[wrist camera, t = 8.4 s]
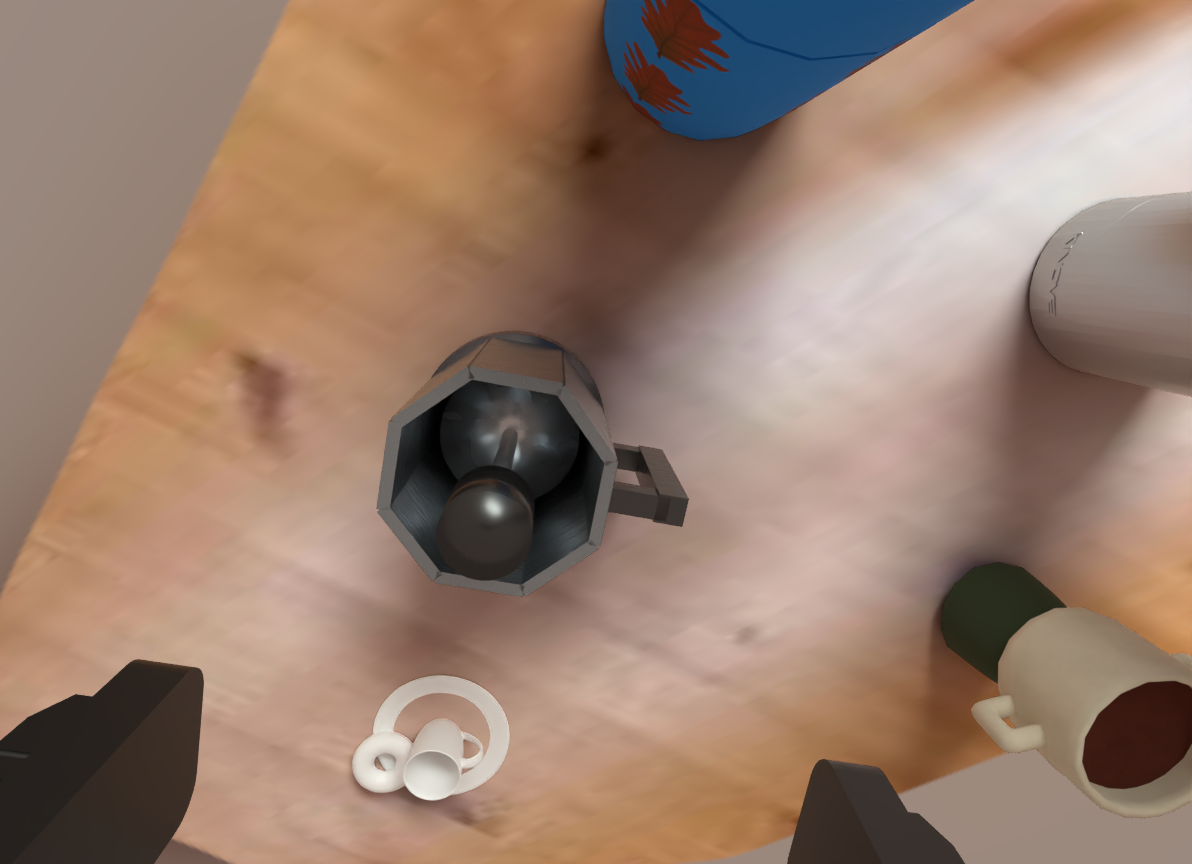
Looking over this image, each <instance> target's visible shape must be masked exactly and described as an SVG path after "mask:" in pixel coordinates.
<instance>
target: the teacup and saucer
mask: <svg viewBox="0 0 1192 864" xmlns="http://www.w3.org/2000/svg"><path fill="white" fill-rule="evenodd" d="M432 693H450V694H454V695H458V696H461V697H463V698H465V699H467V700H469V701H470V702H472V703H473V704H474V705H476V706H477V707H478V708H479V709H480V710H481V712H482V713H483V714H484V716H485V718H486V720H487V722H488V725H489V729H490V743H489V747H488V750H487V752H486V754H485V756H484V750H483V747H482V744H481V742H480V741H479V740H478V739H477V738H476V737H474V736H473V735H471V734H469V733H466V732H463V731H461V730H460V729H459V727H458V726H457V725H456V724H455V723H454V722H453V721H451V720H449V719H445V718H438V719H434V720H432V721H430V722H428V723H427V724H426V725H425V726H424V727H423V728H422V729H421V730H420V732H419V733H418V735H417V737H416V739H415V741H414V743H412V742H411V741H410V740H409V739H408V738H407V737H406V736H404V735H402V734H400V733H397V732H393V727H394V724H395V721H396V719H397V717H398V715H399V713H400V712H401V711H402V709H403V708H404V707H405V706H406V705H408V704H409V703H410V702H412V701H413V700H415V699H417V698H419V697H421V696H424V695H427V694H432ZM463 740H468V741H470V742H472V743H474V744H475V745H476V746H477V747H478V748H479V750H480V751H479V753H478V754H477V755H475V756H474V757H472V758H469V759H465V758H463ZM509 741H510V731H509V725H508V721H507V718H506V715H505V713H504V711H503V709H502V707H501V706H500V704H499V703H498V702H497V700H496V699H495V698H494V697H493V696H492V695H491V694H490V693H489V692H488V691H486V690H485V689H484V688H482V687H481V686H479V685H477V684H475V683H473V682H471V681H469V680H466V679H463V678H459V677H454V676H447V675H435V676H427V677H422V678H418V679H415V680H413V681H410V682H408V683H406V684H404V685H402V686H401V687H399V688H398V689H396V690H395V691H394V692H393V693H392V694H391V695H389V697H388V698H387V699H386V700H385V701H384V702H383V704H382V705H381V707H380V709H379V711H378V713H377V715H376V718H375V721H374V725H373V735H371V736H369V737H368V738H366V739H365V740H364V741H363V742H362V743H361V744H360V745H359V747H358V748H357V750H356V751H355V753H354V756H353V759H352V770H353V774H354V777H355V779H356V780H357V782H358V783H359V784H360V785H361V786H362V787H364V788H365V789H367V790H369V791H372V792H376V793H387V792H392V791H395V790H398V789H400V788H401V787H403V786H405V787H407V789H408V790H409V791H410V792H411V793H412V794H413V795H415V796H417V797H419V798H421V799H425V800H440V799H443V798H446V797H448V796H449V795H456V794H461V793H464V792H467V791H470V790H472V789H474V788H476V787H478V786H480V785H482V784H483V783H485V782H486V781H487V780H489V779H490V778H491V777H492V776H493V775H494V774H495V773H496V772H497V770H498V769H499V768H500V766H501V765H502V763H503V761H504V759H505V757H506V754H507V751H508V747H509ZM376 757H378V759H379V761H380V763H381V765H382V766H383V768H384V769H385V770H386V771H383V770H380V769H377V767H375V764H374V761H375V758H376ZM472 767H474V768H473V769H471V770H470V771H468V772H466V773H464V774H462V769H463V768H472Z"/></svg>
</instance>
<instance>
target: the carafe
mask: <svg viewBox="0 0 1192 864" xmlns="http://www.w3.org/2000/svg"><path fill="white" fill-rule="evenodd" d="M470 380H477V381H482V382H488V383H493V384H499V385H504V386H509V387H515V388H520V389H525V390H531V391H536V392H542V393H547V394H552V395H557V396H558V397H559V399H560V400H561V402H562V403H563V405H564V406H565V407H566V409H567V410H568V412H569V413H570V415H571V416H572V417H573V419H574V420H575V422H576V423H577V425H578V426H579V446H578V451H577V455H576V458H575V460H574V463H573V465H572V467H571V469H570V470H569V472H568V473H567V475H566V476H565V477H564V479H563V480H562V481H561V482H560V483H559V484H558V485H557V486H555V487H554V488H553V489H552V490H550V491H549V492H547V493H545V494H543V495H542V496H539V497H537V498H534V507H535V508H534V520H533V531H532V542H531V547H530V551H529V553H528V555H527V557H526V559H525V560H524V562H523V563H522V564H521V565H520V566H519V567H518V568H517V569H516V570H515V571H514V572H512V573H511V574H509V575H507V576H505V577H502V578H500V579H496V580H490V581H480V580H474V579H470V578H467V577H464V576H462V575H460V574H459V573H457V572H456V571H454V570H453V569H452V568H451V567H450V566H449V565H448V564H447V563H446V562H445V560H444V559H443V558H442V556H441V554H440V552H439V549H438V545H437V539H436V532H437V526H438V522H439V519H440V517H441V515H442V512H443V510H444V508H445V506H446V503H447V501H448V499H449V497H450V494H451V492H452V490H453V488H454V486H455V484H456V483H457V482H458V479H457V478H456V477H455V475H454V474H453V473H452V471H451V470H450V468H449V467H448V465H447V462H446V460H445V458H444V455H443V452H442V448H441V442H440V427H441V421H442V416H443V413H444V411H445V408H446V406H447V404H448V402H449V400H450V399H451V397H452V396H453V395H454V393H455V392H456V391H457V389H459V388H460V387H462V386H463V385H465V384H466V383H468V382H469V381H470ZM617 468H618V469H624V470H630V471H635V472H636V475H637V478H638V481H639V484H640V486H637V485H632V484H626V483H620V482H614V479H615V474H616V470H617ZM688 500H689V499H688V497H687V495H686V493H685V491H684V489H683V487H682V486H681V484H680V482H679V480H678V478H677V476H676V475H675V473H674V471H673V469H672V467H671V465H670V463H669V462H668V460H667V458H666V456H665V454H664V452H663V451H662V450H661V449H655V448H650V447H644V446H639V447H634V446H628V445H623V444H617V443H612V440H611V436H610V433H609V430H608V426H607V423H606V419H605V416H604V410H603V405H602V401H601V398H600V394H599V391H598V389H597V387H596V384H595V382H594V380H593V378H592V377H591V375H590V373H589V371H588V370H587V369H586V368H585V366H584V365H583V364H582V362H581V361H580V360H579V359H578V358H577V357H576V356H575V355H574V354H572V353H571V352H570V351H568V350H567V349H566V348H564V347H563V346H561V345H560V344H558V343H556V342H554V341H553V340H550V339H548V338H545V337H543V336H540V335H536V334H532V333H526V332H519V331H505V332H498V333H492V334H488V335H485V336H481V337H479V338H477V339H474V340H472V341H470V342H468V343H467V344H465V345H463V346H462V347H460V348H459V349H458V350H456V351H455V352H454V353H453V354H451V355H450V356H449V357H448V358H447V359H446V360H445V361H444V362H443V363H442V364H441V365H440V366H439V368H438V369H437V371H436V372H435V373H434V375H433V376H432V378H431V379H430V380H429V381H428V382H427V383H426V384H425V385H424V386H423V387H422V388H421V389H420V390H419V391H418V392H417V393H416V394H415V395H414V396H413V397H412V398H411V399H410V400H409V401H408V402H407V403H406V404H405V405H404V406H403V407H402V408H401V409H400V410H399V411H398V412H397V413H396V414H395V415H394V416H393V417H392V418H391V420H390V421H389V424H388V431H387V438H386V445H385V452H384V459H383V466H382V473H381V480H380V487H379V494H378V501H377V509H379V511H378V514H379V515H380V516H381V517H382V519H383V520H384V521H385V522H386V524H387V525H388V526H389V527H390V529H391V530H392V531H393V533H394V534H395V535H396V536H397V538H398V539H399V540H400V541H401V543H402V544H403V545H404V546H405V548H406V549H407V550H408V552H409V553H410V554H411V555H412V557H413V558H414V559H415V560H416V562H417V563H418V564H419V565H420V567H421V568H422V569H423V571H424V572H425V573H426V574H427V576H428V577H429V578H430V579H431V581H433V580H435V583H438V584H444V585H451V586H457V587H463V588H469V589H475V590H482V591H488V592H494V593H500V594H507V595H513V596H519V597H523V593H524V595H525V596H527V595H529V594H530V593H532V592H533V591H535V590H536V589H538V588H539V587H541V586H542V585H544V584H545V583H547V582H549V581H550V580H552V579H553V578H555V577H556V576H558V575H559V574H561V573H562V572H564V571H566V570H567V569H569V568H570V567H572V566H573V565H575V564H576V563H578V562H579V561H581V560H582V559H584V558H586V557H587V556H589V555H590V554H592V553H593V552H595V551H596V550H598V546H600V545H601V541H602V536H603V531H604V527H605V522H606V517H607V512H613V513H619V514H625V515H630V516H636V517H642V518H648V519H653V522H657V523H663V524H669V525H675V526H680V527H682V526H683V521H684V517H685V513H686V509H687V504H688Z"/></svg>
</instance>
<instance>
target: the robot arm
mask: <svg viewBox="0 0 1192 864" xmlns="http://www.w3.org/2000/svg"><path fill="white" fill-rule="evenodd" d="M1030 313H1031V318H1032V323H1033V327H1034V329H1035V331H1036V333H1037V335H1038V338H1039V340H1040V342H1041V343H1042V344H1043V346H1044V347H1045V348H1046V349H1047V351H1048V352H1049V353H1050V354H1051V355H1052V356H1053V357H1054V358H1056V359H1057V360H1058V361H1060V362H1061V363H1062V364H1064V365H1066V366H1068V367H1070V368H1072V369H1075V370H1077V371H1080V372H1085V373H1089V374H1094V375H1098V376H1102V377H1107V378H1111V379H1116V380H1120V381H1124V382H1129V383H1132V384H1136V385H1140V386H1145V387H1149V388H1154V389H1158V390H1163V391H1167V392H1172V393H1176V394H1181V395H1185V396H1190V397H1192V192H1185V193H1172V194H1162V195H1152V196H1142V197H1132V198H1122V199H1115V200H1111V201H1106V202H1102V203H1099V204H1096V205H1094V206H1092V207H1090V208H1088V209H1085V210H1083V211H1081V212H1080V213H1079V214H1077V215H1076V216H1074V217H1073V218H1072V219H1070V220H1069V221H1067V222H1066V223H1065V224H1064V225H1063V226H1062V227H1061V228H1060V229H1059V230H1058V231H1057V232H1056V234H1055V235H1054V236H1053V237H1052V238H1051V240H1050V241H1049V243H1048V244H1047V246H1046V247H1045V249H1044V250H1043V252H1042V253H1041V255H1040V258H1039V260H1038V263H1037V265H1036V267H1035V270H1034V273H1033V277H1032V282H1031V287H1030ZM203 688H204V679H203V674H202V671H201V670H200V669H199V668H195V667H188V666H181V665H174V664H167V663H160V662H153V661H147V660H140V659H137V660H134V661H132V662H130V663H129V664H128V665H126V666H125V667H124V668H123V669H122V670H121V671H120V672H119V673H118V674H117V675H116V676H114V677H113V678H112V679H111V680H110V681H109V682H108V683H107V684H106V685H105V686H104V687H103V688H101V689H100V690H99V691H98V692H97V693H96V694H95V695H94V696H93V697H91V696H84V695H77V694H75V695H73V696H71V697H69V698H67V699H65V700H63V701H61V702H59V703H57V704H54V705H52V706H50V707H48V708H46V709H44V710H42V711H40V712H38V713H36V714H34V715H32V716H29V717H28V718H26V719H25V720H24V721H23V722H22V723H21V724H19V725H18V726H17V727H16V728H15V729H13V730H12V731H11V732H10V733H9V734H8V735H6V736H5V737H4V738H3V739H2V740H0V864H154V863H155V861H156V860H157V859H158V857H159V856H160V854H161V853H162V851H163V850H164V848H165V847H166V845H167V844H168V842H169V841H170V840H171V838H172V837H173V835H174V834H175V832H176V831H177V829H178V827H179V826H180V824H181V822H182V820H183V818H184V816H185V813H186V811H187V808H188V806H189V803H190V800H191V797H192V794H193V790H194V786H195V781H196V775H197V763H198V751H199V738H200V726H201V713H202V701H203ZM787 864H965V863H964V861H963V860H962V858H961V857H960V855H959V854H958V852H957V851H956V849H955V847H954V846H953V845H952V844H951V843H950V842H949V841H948V840H947V839H945V838H944V837H943V836H942V835H941V834H940V833H939V832H938V831H937V830H936V829H935V828H934V827H932V826H931V825H930V824H929V823H928V822H927V821H926V820H925V819H924V818H923V817H922V816H921V815H920V814H918V813H910V812H908V811H907V810H906V808H905V806H904V805H903V803H902V802H901V800H900V798H899V797H898V795H897V793H896V792H895V790H894V788H893V787H892V785H891V783H890V782H889V780H888V779H887V777H886V775H885V774H884V773H883V771H882V770H881V769H880V768H878V767H874V766H867V765H860V764H853V763H846V762H839V761H832V760H825V759H822V760H819V761H818V762H817V763H816V765H815V766H814V769H813V771H812V774H811V777H810V781H809V784H808V788H807V791H806V795H805V799H804V802H803V806H802V809H801V813H800V817H799V820H798V824H797V827H796V831H795V835H794V838H793V842H792V845H791V849H790V853H789V857H788V863H787Z"/></svg>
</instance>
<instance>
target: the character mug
mask: <svg viewBox="0 0 1192 864" xmlns="http://www.w3.org/2000/svg"><path fill="white" fill-rule="evenodd" d="M941 630H942V633H943V635H944V638H945V641H946V644H947V646H948V647H949V648H951V649H952V650H953V651H954V652H956V653H957V654H958V655H959V656H961V657H962V658H963V659H964V660H966V661H967V662H968V663H970V664H971V665H972V666H973V667H975V668H976V669H977V670H979V671H980V672H981V673H983V674H984V675H986V676H987V677H989V678H990V679H991V680H993V681H994V682H996V683H997V684H998V688H999V693H1000V696H998V697H994V698H989V699H985V700H981V701H979V702H977V703H975V704H974V705H973V707H972V709H971V712H972V715H973V717H974V718H975V720H976V721H977V723H978V724H979V725H980V726H981V727H982V728H983V729H984V730H985V732H986V733H987V734H988V735H989V736H990V737H991V738H992V739H993V740H994V742H995V743H996V744H997V745H998V746H999V747H1000V748H1001V749H1003V750H1004V751H1006V752H1008V753H1020V752H1024V751H1029V750H1033V749H1036V750H1037V751H1038V752H1039V753H1040V754H1041V755H1042V756H1043V757H1044V758H1045V759H1046V760H1047V761H1048V762H1049V763H1050V764H1051V765H1052V766H1053V767H1054V768H1055V769H1056V770H1057V771H1059V772H1060V773H1061V774H1063V775H1064V776H1066V777H1067V778H1068V779H1069V780H1070V781H1071V782H1072V783H1073V784H1074V785H1075V786H1076V787H1077V788H1078V789H1079V790H1080V791H1081V792H1082V793H1083V794H1085V795H1086V796H1087V797H1088V798H1089V799H1090V800H1091V801H1092V802H1094V803H1095V804H1096V805H1097V806H1099V807H1100V808H1101V809H1104V810H1106V811H1109V812H1112V813H1114V814H1117V815H1120V816H1122V817H1126V818H1151V817H1158V816H1162V815H1164V814H1167V813H1170V812H1173V811H1175V810H1177V809H1179V808H1181V807H1182V806H1184V805H1186V804H1188V803H1190V802H1192V656H1189V655H1187V654H1184V653H1180V654H1171V655H1169V654H1168V653H1166V652H1165V651H1163V650H1161V649H1160V648H1158V647H1157V646H1155V645H1154V644H1152V643H1151V642H1149V641H1148V640H1146V639H1145V638H1143V637H1142V636H1140V635H1138V634H1137V633H1135V632H1134V631H1132V630H1131V629H1129V628H1128V627H1126V626H1125V625H1123V624H1122V623H1120V622H1119V621H1117V620H1115V619H1112V618H1110V617H1107V616H1104V615H1101V614H1099V613H1096V612H1093V611H1091V610H1088V609H1085V608H1083V607H1071V608H1068V607H1067V606H1066V605H1065V604H1064V603H1063V602H1062V601H1061V600H1060V599H1059V598H1058V597H1057V596H1055V595H1054V594H1053V593H1052V592H1051V591H1050V590H1049V589H1048V588H1046V587H1045V586H1044V585H1043V584H1042V583H1041V582H1040V581H1038V580H1037V579H1036V578H1035V577H1033V576H1032V575H1031V574H1030V573H1028V572H1027V571H1026V570H1025V569H1023V568H1022V567H1017V566H1013V565H1008V564H1004V563H999V562H997V563H993V564H989V565H985V566H981V567H977V568H974V569H972V570H971V571H970V572H969V573H967V574H966V575H965V576H964V577H963V578H961V579H960V580H959V581H958V582H956V583H955V584H954V586H953V588H952V590H951V592H950V594H949V596H948V598H947V600H946V601H945V603H944V605H943V613H942V623H941ZM1007 717H1009V718H1010V720H1011V722H1012V723H1013V724H1014V726H1015V727H1016V728H1010V727H1009V726H1008V725H1007V724H1006V723H1005V722H1004V721H1003V720H1002V719H1003V718H1007Z"/></svg>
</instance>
